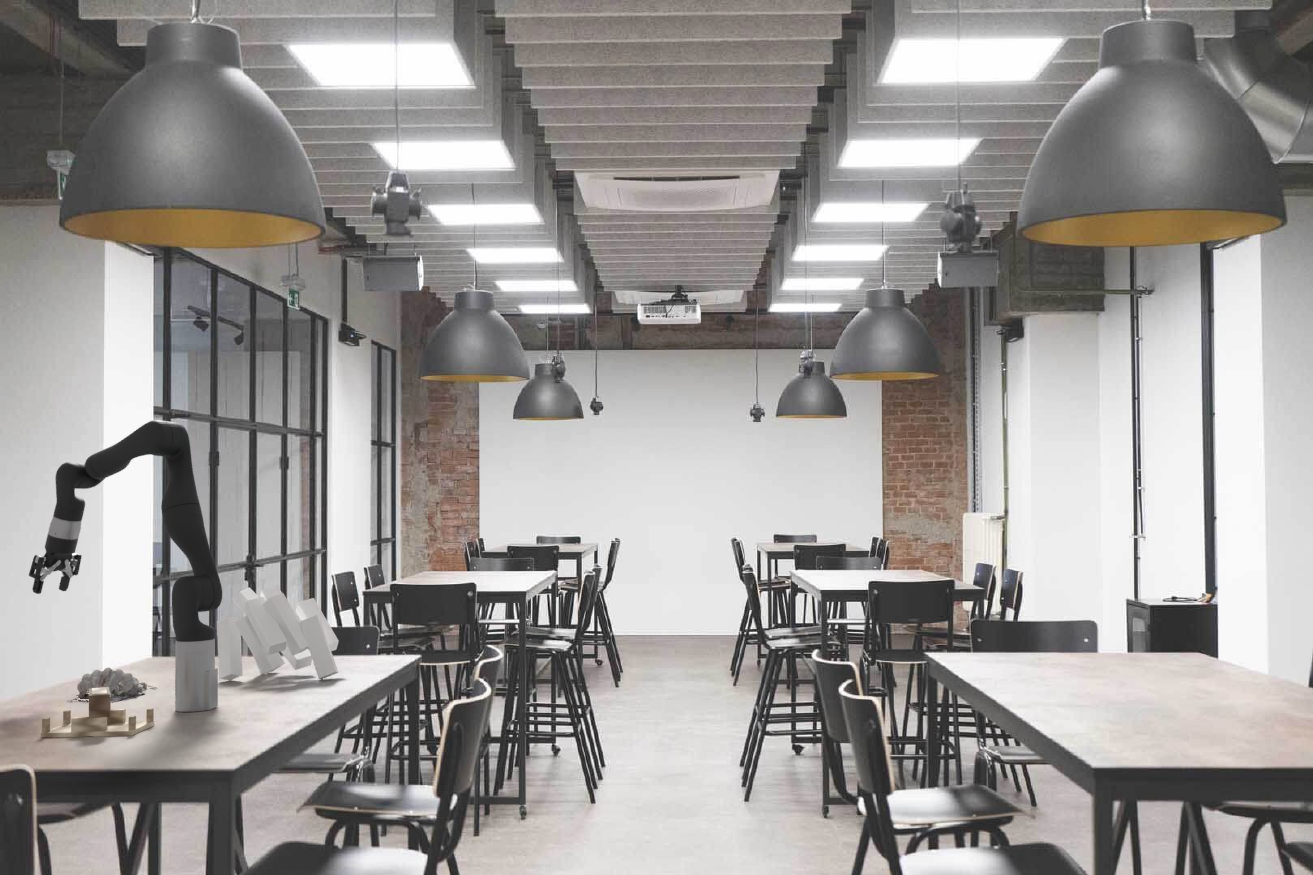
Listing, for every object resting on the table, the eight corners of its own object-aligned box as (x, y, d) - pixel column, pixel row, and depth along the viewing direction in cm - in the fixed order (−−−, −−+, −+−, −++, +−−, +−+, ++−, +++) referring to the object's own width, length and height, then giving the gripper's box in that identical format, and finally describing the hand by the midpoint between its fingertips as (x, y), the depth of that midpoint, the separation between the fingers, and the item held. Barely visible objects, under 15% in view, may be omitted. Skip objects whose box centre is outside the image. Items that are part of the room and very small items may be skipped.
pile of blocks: (356, 687, 353) (328, 584, 367) (340, 661, 326) (311, 551, 340) (240, 726, 345) (216, 619, 359) (214, 703, 319) (190, 588, 332)
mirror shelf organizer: (154, 725, 268) (154, 707, 268) (132, 735, 256) (132, 717, 256) (67, 727, 267) (67, 709, 267) (40, 737, 255) (41, 719, 256)
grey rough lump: (50, 673, 301) (109, 646, 331) (46, 711, 301) (105, 681, 331) (122, 683, 300) (174, 655, 330) (118, 721, 301) (170, 690, 331)
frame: (109, 708, 268) (109, 686, 268) (110, 716, 257) (110, 693, 258) (88, 710, 266) (88, 687, 266) (88, 718, 255) (89, 694, 256)
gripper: (52, 539, 304) (38, 598, 305) (94, 537, 317) (81, 593, 318) (31, 531, 306) (17, 589, 307) (74, 529, 320) (60, 585, 320)
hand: (49, 591), depth 312 cm, fingers open, 8 cm apart
